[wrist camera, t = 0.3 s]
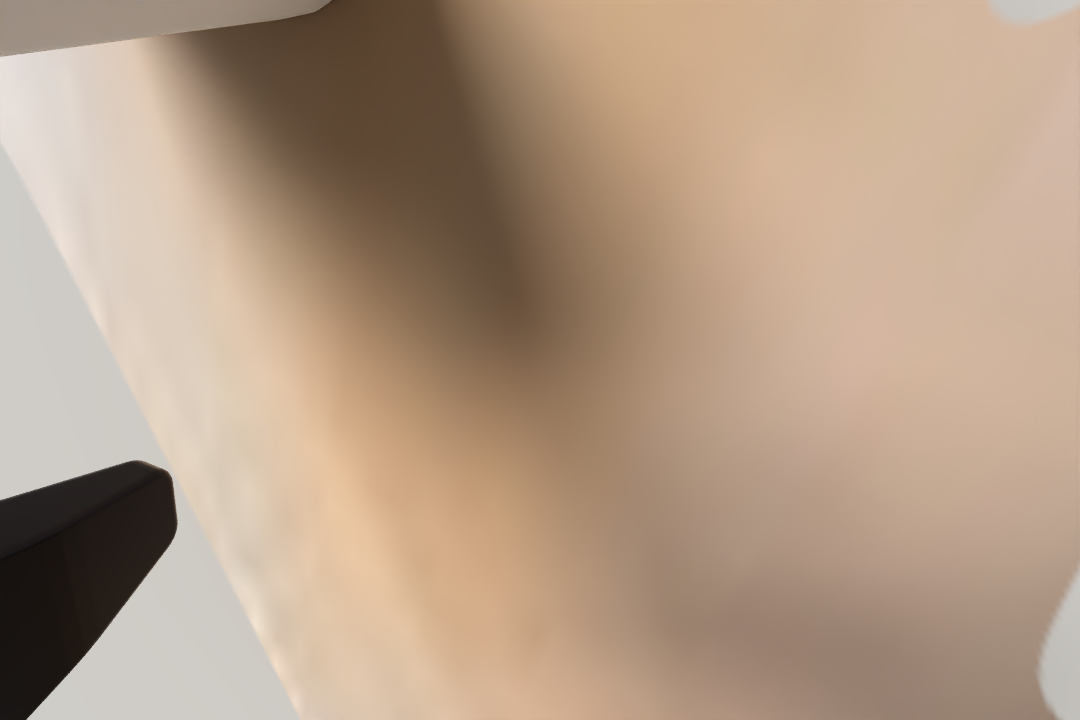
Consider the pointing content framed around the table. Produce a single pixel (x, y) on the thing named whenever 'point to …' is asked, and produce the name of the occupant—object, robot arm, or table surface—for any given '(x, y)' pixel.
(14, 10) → the candle
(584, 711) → the table surface
